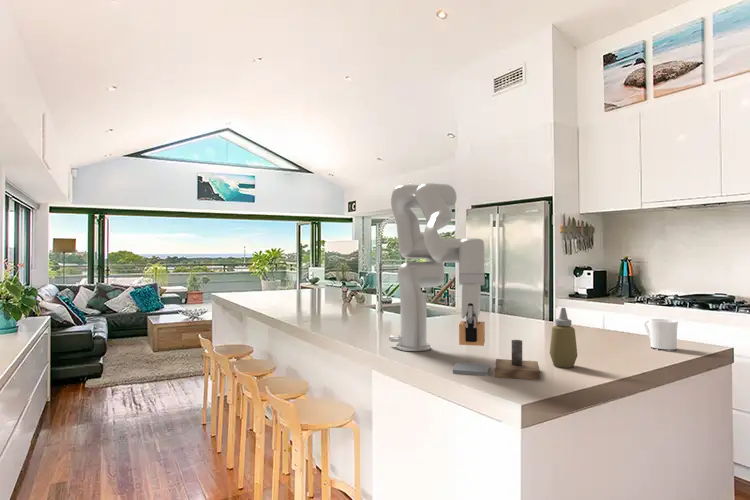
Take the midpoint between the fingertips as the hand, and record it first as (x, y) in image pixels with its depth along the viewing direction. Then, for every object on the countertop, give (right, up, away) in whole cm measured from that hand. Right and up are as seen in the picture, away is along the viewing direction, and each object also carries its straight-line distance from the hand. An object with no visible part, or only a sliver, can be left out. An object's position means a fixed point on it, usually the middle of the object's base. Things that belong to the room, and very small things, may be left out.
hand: (472, 338), depth 143 cm
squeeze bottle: (+29, -10, +5) cm, 31 cm away
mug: (+75, -10, +32) cm, 82 cm away
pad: (0, -9, 0) cm, 9 cm away
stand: (+12, -9, -3) cm, 16 cm away
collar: (0, -1, 0) cm, 1 cm away
